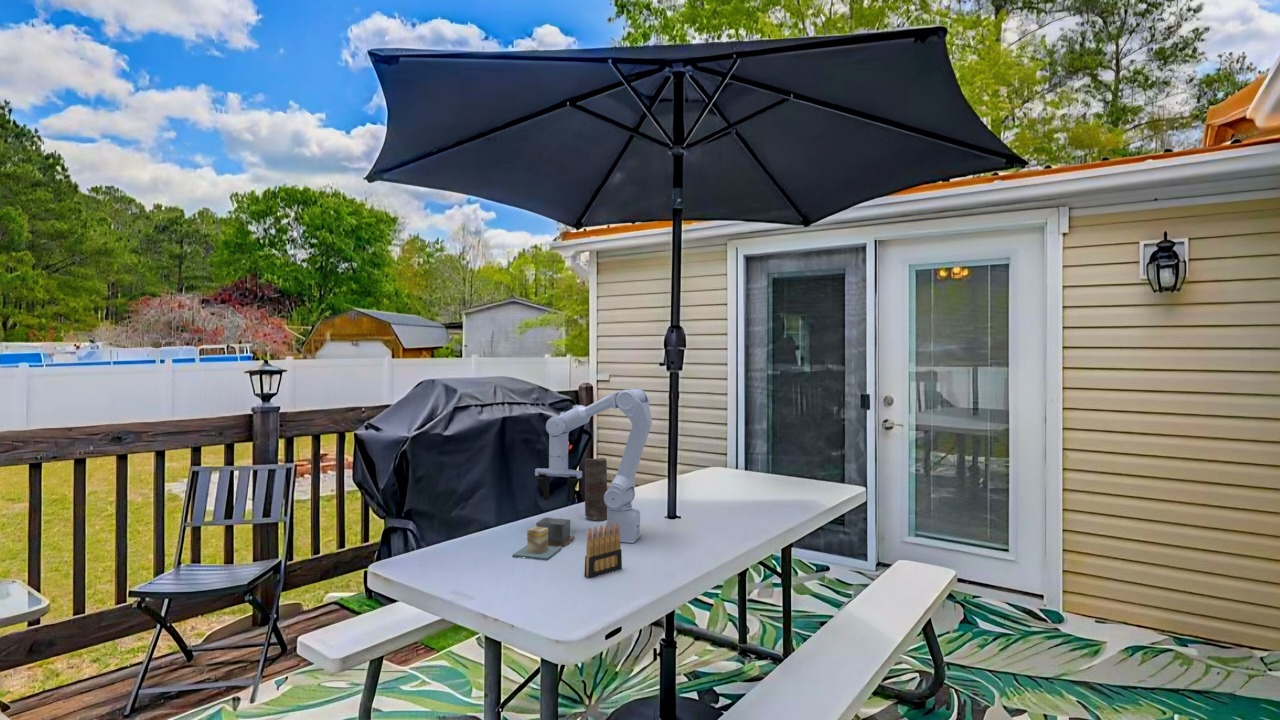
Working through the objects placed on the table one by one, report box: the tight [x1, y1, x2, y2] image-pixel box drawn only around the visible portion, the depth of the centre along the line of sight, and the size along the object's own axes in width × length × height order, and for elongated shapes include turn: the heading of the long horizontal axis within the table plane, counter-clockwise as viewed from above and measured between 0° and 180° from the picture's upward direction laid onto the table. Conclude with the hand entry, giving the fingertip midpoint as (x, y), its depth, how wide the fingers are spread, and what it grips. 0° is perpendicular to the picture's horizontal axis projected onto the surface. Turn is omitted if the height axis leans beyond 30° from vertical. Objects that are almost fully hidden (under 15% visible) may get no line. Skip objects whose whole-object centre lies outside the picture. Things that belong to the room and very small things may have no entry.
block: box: [526, 525, 548, 554], centre depth 182 cm, size 4×4×6 cm
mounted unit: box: [535, 517, 576, 548], centre depth 193 cm, size 10×8×6 cm
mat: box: [512, 545, 563, 561], centre depth 182 cm, size 10×10×1 cm
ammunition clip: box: [583, 522, 623, 579], centre depth 167 cm, size 11×2×12 cm, turn 133°
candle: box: [584, 457, 608, 522], centre depth 220 cm, size 8×7×20 cm
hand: (558, 500), depth 204 cm, fingers open, 7 cm apart
